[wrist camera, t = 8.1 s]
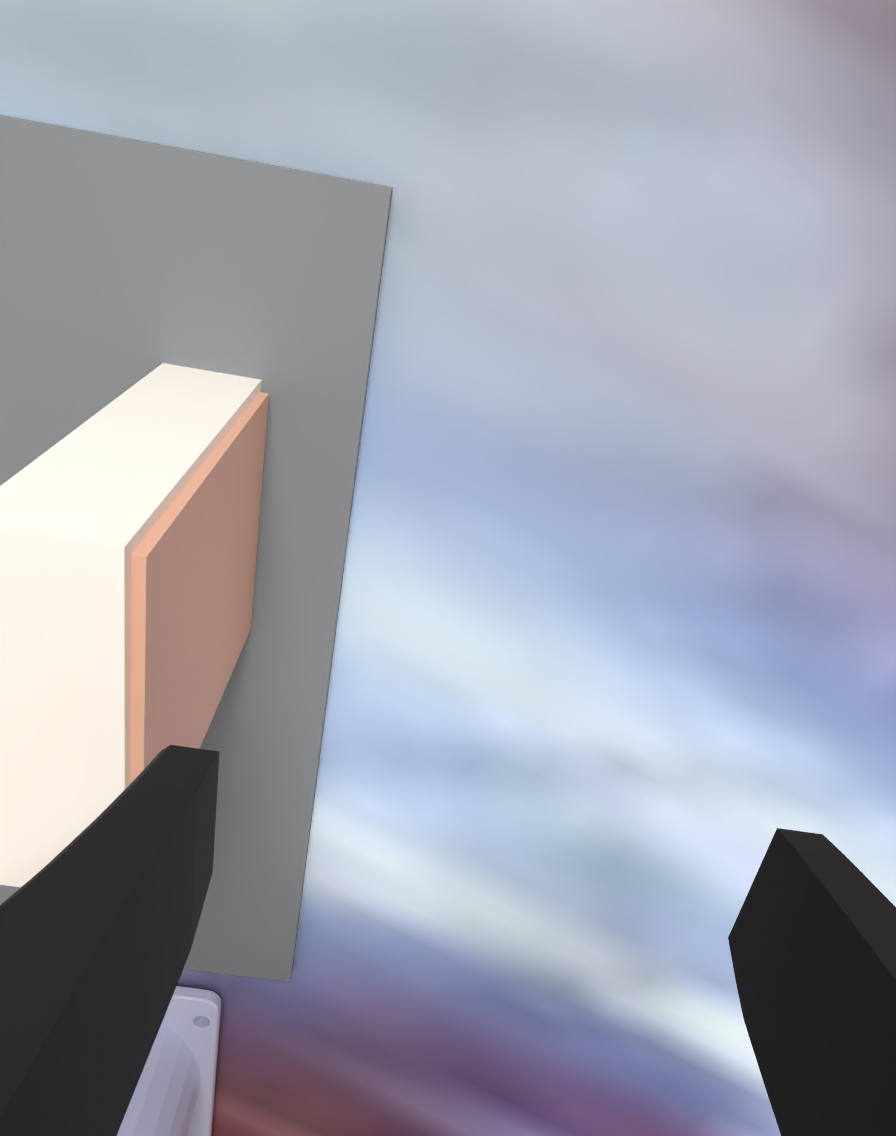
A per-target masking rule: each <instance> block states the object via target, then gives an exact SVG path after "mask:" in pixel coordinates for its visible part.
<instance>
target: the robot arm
mask: <svg viewBox="0 0 896 1136" xmlns="http://www.w3.org/2000/svg"><path fill="white" fill-rule="evenodd" d="M219 753H220V751H213V750H205V749H198V748H191V747H184V746H176V745H169V746H168V747H166V748H165V749H163V750H162V751H160V753H159V754H158V755H157V756H156V757H155V758H154V759H153V760H152V761H151V762H150V764H149V765H148V766H147V767H146V768H145V769H144V770H143V771H142V772H141V773H140V774H139V775H138V776H137V777H136V779H135V780H134V781H133V782H132V783H131V784H130V785H129V786H128V787H127V788H126V789H125V790H124V791H123V792H122V793H121V794H120V795H119V796H118V797H117V798H116V799H115V800H114V801H113V802H112V803H111V804H110V805H109V806H108V807H107V808H106V809H105V810H104V811H103V812H102V813H101V814H100V815H99V816H98V817H97V818H96V819H95V820H94V821H93V822H92V823H91V824H90V825H89V826H88V827H87V828H86V829H85V830H83V831H82V832H81V833H80V834H79V835H78V836H77V837H76V838H75V839H74V840H73V841H72V842H71V843H70V844H69V845H68V846H66V847H65V848H64V849H63V850H62V851H61V852H60V853H59V854H58V855H57V856H56V857H55V858H54V859H53V860H52V861H51V862H49V863H48V864H47V865H46V866H45V867H44V868H43V869H42V870H41V871H39V872H38V873H37V874H36V875H35V876H34V877H33V878H31V879H30V880H29V881H28V882H27V883H25V884H24V885H23V886H22V887H21V888H20V889H18V890H17V891H16V892H15V893H14V894H13V895H11V896H10V897H9V898H8V899H7V900H6V901H4V902H3V903H2V904H1V905H0V1136H211V1134H212V1121H213V1107H214V1094H215V1081H216V1068H217V1054H218V1041H219V1028H220V1015H221V999H220V997H219V996H218V995H217V994H216V993H214V992H213V991H210V990H206V989H198V988H190V987H182V986H177V984H178V981H179V979H180V976H181V974H182V971H183V968H184V966H185V963H186V961H187V958H188V956H189V953H190V951H191V947H192V944H193V940H194V937H195V933H196V930H197V926H198V923H199V919H200V916H201V912H202V909H203V905H204V901H205V898H206V894H207V890H208V887H209V883H210V880H211V876H212V872H213V859H214V841H215V823H216V806H217V788H218V770H219ZM728 939H729V945H730V950H731V956H732V962H733V967H734V973H735V979H736V984H737V989H738V994H739V998H740V1003H741V1008H742V1013H743V1017H744V1021H745V1024H746V1027H747V1031H748V1034H749V1037H750V1041H751V1044H752V1047H753V1050H754V1053H755V1056H756V1059H757V1062H758V1066H759V1069H760V1072H761V1075H762V1078H763V1081H764V1084H765V1087H766V1091H767V1094H768V1097H769V1100H770V1103H771V1106H772V1109H773V1112H774V1115H775V1118H776V1121H777V1124H778V1127H779V1130H780V1133H781V1136H896V907H895V906H894V905H893V904H892V903H891V902H890V901H889V900H888V899H887V898H886V897H885V896H884V895H883V894H882V893H881V892H880V891H879V890H878V889H877V888H876V887H875V886H874V885H873V884H872V883H871V882H870V881H869V880H868V878H867V877H866V876H865V875H864V874H863V873H862V872H861V871H860V870H859V869H858V868H857V867H856V866H855V865H854V864H853V863H852V862H851V861H850V860H849V859H848V858H847V857H846V856H845V855H844V854H843V853H842V852H841V851H840V850H839V849H838V848H836V847H835V846H834V845H833V844H832V843H831V842H830V841H829V840H828V839H827V838H826V837H825V836H824V835H822V834H815V833H808V832H800V831H793V830H786V829H779V828H777V830H776V832H775V834H774V837H773V839H772V841H771V843H770V846H769V848H768V850H767V852H766V855H765V857H764V859H763V861H762V863H761V866H760V868H759V870H758V872H757V875H756V877H755V879H754V881H753V884H752V886H751V888H750V890H749V893H748V895H747V897H746V899H745V901H744V904H743V906H742V908H741V910H740V913H739V915H738V917H737V919H736V922H735V924H734V926H733V928H732V931H731V933H730V935H729V937H728Z"/></svg>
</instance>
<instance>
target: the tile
mask: <svg viewBox="0 0 896 1136" xmlns="http://www.w3.org/2000/svg"><path fill="white" fill-rule="evenodd" d="M261 384H262V380H260V379H255V378H249V377H243V376H237V375H231V374H225V373H219V372H213V371H207V370H201V369H195V368H189V367H183V366H177V365H171V364H166V363H162V364H161V365H160V366H158V367H157V368H156V369H154V370H153V371H152V372H150V373H149V374H148V375H146V376H145V377H144V378H142V379H141V380H140V381H139V382H137V383H136V384H135V385H133V386H132V387H131V388H129V389H128V390H127V391H125V392H124V393H123V394H121V395H120V396H119V397H117V398H116V399H115V400H113V401H112V402H111V403H109V404H108V405H107V406H105V407H104V408H103V409H101V410H100V411H99V412H98V413H96V414H95V415H94V416H92V417H91V418H90V419H88V420H87V421H86V422H84V423H83V424H82V425H80V426H79V427H78V428H76V429H75V430H74V431H72V432H71V433H70V434H68V435H67V436H66V437H64V438H63V439H62V440H60V441H59V442H58V443H57V444H55V445H54V446H53V447H51V448H50V449H49V450H47V451H46V452H45V453H43V454H42V455H41V456H39V457H38V458H37V459H35V460H34V461H33V462H31V463H30V464H29V465H27V466H26V467H25V468H23V469H22V470H21V471H20V472H18V473H17V474H16V475H14V476H13V477H12V478H10V479H9V480H8V481H6V482H5V483H4V484H2V485H1V486H0V885H6V886H14V887H22V886H23V885H24V884H25V883H27V882H28V881H29V880H30V879H31V878H33V877H34V876H35V875H36V874H37V873H38V872H39V871H41V870H42V869H43V868H44V867H45V866H46V865H47V864H48V863H49V862H51V861H52V860H53V859H54V858H55V857H56V856H57V855H58V854H59V853H60V852H61V851H62V850H63V849H64V848H65V847H66V846H68V845H69V844H70V843H71V842H72V841H73V840H74V839H75V838H76V837H77V836H78V835H79V834H80V833H81V832H82V831H83V830H85V829H86V828H87V827H88V826H89V825H90V824H91V823H92V822H93V821H94V820H95V819H96V818H97V817H98V816H99V815H100V814H101V813H102V812H103V811H104V810H105V809H106V808H107V807H108V806H109V805H110V804H111V803H112V802H113V801H114V800H115V799H116V798H117V797H118V796H119V795H120V794H121V793H122V792H123V791H124V790H125V789H126V788H127V787H128V786H129V785H130V784H131V783H132V782H133V781H134V780H135V779H136V777H137V776H138V775H139V774H140V773H141V772H142V771H143V770H144V769H145V768H146V767H147V766H148V765H149V764H150V762H151V761H152V760H153V759H154V758H155V757H156V756H157V755H158V754H159V753H160V751H162V750H163V749H165V748H166V747H168V746H169V745H176V746H184V747H191V748H198V749H200V747H201V744H202V742H203V740H204V737H205V735H206V733H207V730H208V728H209V726H210V723H211V721H212V719H213V716H214V714H215V712H216V709H217V707H218V704H219V702H220V700H221V697H222V695H223V693H224V690H225V688H226V686H227V683H228V681H229V679H230V676H231V674H232V672H233V669H234V667H235V665H236V662H237V660H238V658H239V655H240V653H241V651H242V648H243V646H244V643H245V641H246V639H247V636H248V634H249V632H250V629H251V622H252V609H253V596H254V583H255V570H256V557H257V543H258V530H259V517H260V504H261V491H262V478H263V465H264V452H265V439H266V426H267V412H268V399H269V393H263V392H261Z"/></svg>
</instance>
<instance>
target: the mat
mask: <svg viewBox="0 0 896 1136" xmlns="http://www.w3.org/2000/svg"><path fill="white" fill-rule="evenodd" d="M392 188H393V187H388V186H382V185H377V184H371V183H366V182H361V181H355V180H350V179H344V178H339V177H334V176H328V175H323V174H317V173H312V172H306V171H301V170H296V169H290V168H285V167H279V166H274V165H269V164H263V163H258V162H252V161H247V160H242V159H236V158H231V157H225V156H220V155H214V154H209V153H204V152H198V151H193V150H187V149H182V148H177V147H171V146H166V145H160V144H155V143H149V142H144V141H139V140H133V139H128V138H122V137H117V136H112V135H106V134H101V133H95V132H90V131H85V130H79V129H74V128H68V127H63V126H57V125H52V124H47V123H41V122H36V121H30V120H25V119H20V118H14V117H9V116H3V115H0V486H1V485H2V484H4V483H5V482H6V481H8V480H9V479H10V478H12V477H13V476H14V475H16V474H17V473H18V472H20V471H21V470H22V469H23V468H25V467H26V466H27V465H29V464H30V463H31V462H33V461H34V460H35V459H37V458H38V457H39V456H41V455H42V454H43V453H45V452H46V451H47V450H49V449H50V448H51V447H53V446H54V445H55V444H57V443H58V442H59V441H60V440H62V439H63V438H64V437H66V436H67V435H68V434H70V433H71V432H72V431H74V430H75V429H76V428H78V427H79V426H80V425H82V424H83V423H84V422H86V421H87V420H88V419H90V418H91V417H92V416H94V415H95V414H96V413H98V412H99V411H100V410H101V409H103V408H104V407H105V406H107V405H108V404H109V403H111V402H112V401H113V400H115V399H116V398H117V397H119V396H120V395H121V394H123V393H124V392H125V391H127V390H128V389H129V388H131V387H132V386H133V385H135V384H136V383H137V382H139V381H140V380H141V379H142V378H144V377H145V376H146V375H148V374H149V373H150V372H152V371H153V370H154V369H156V368H157V367H158V366H160V365H161V364H162V363H166V364H171V365H177V366H183V367H189V368H195V369H201V370H207V371H213V372H219V373H225V374H231V375H237V376H243V377H249V378H255V379H260V380H262V384H261V392H263V393H269V399H268V412H267V426H266V439H265V452H264V465H263V478H262V491H261V504H260V517H259V530H258V543H257V557H256V570H255V583H254V596H253V609H252V622H251V629H250V632H249V634H248V636H247V639H246V641H245V643H244V646H243V648H242V651H241V653H240V655H239V658H238V660H237V662H236V665H235V667H234V669H233V672H232V674H231V676H230V679H229V681H228V683H227V686H226V688H225V690H224V693H223V695H222V697H221V700H220V702H219V704H218V707H217V709H216V712H215V714H214V716H213V719H212V721H211V723H210V726H209V728H208V730H207V733H206V735H205V737H204V740H203V742H202V744H201V747H200V749H205V750H213V751H220V753H219V770H218V788H217V806H216V823H215V841H214V859H213V872H212V876H211V880H210V883H209V887H208V890H207V894H206V898H205V901H204V905H203V909H202V912H201V916H200V919H199V923H198V926H197V930H196V933H195V937H194V940H193V944H192V947H191V951H190V953H189V956H188V958H187V961H186V963H185V966H184V968H183V969H186V970H194V971H202V972H210V973H218V974H226V975H234V976H242V977H250V978H258V979H266V980H274V981H282V982H290V979H291V974H292V968H293V961H294V953H295V945H296V937H297V929H298V922H299V914H300V906H301V898H302V890H303V883H304V875H305V867H306V859H307V851H308V844H309V836H310V828H311V820H312V812H313V805H314V797H315V789H316V781H317V773H318V766H319V758H320V750H321V742H322V734H323V727H324V719H325V711H326V703H327V695H328V688H329V680H330V672H331V664H332V656H333V649H334V641H335V633H336V625H337V617H338V610H339V602H340V594H341V586H342V578H343V571H344V563H345V555H346V547H347V539H348V532H349V524H350V516H351V508H352V500H353V493H354V485H355V477H356V469H357V461H358V454H359V446H360V438H361V430H362V422H363V415H364V407H365V399H366V391H367V383H368V376H369V368H370V360H371V352H372V344H373V337H374V329H375V321H376V313H377V305H378V298H379V290H380V282H381V274H382V266H383V259H384V251H385V243H386V235H387V227H388V220H389V212H390V204H391V196H392ZM20 888H21V887H14V886H6V885H0V905H1V904H2V903H3V902H4V901H6V900H7V899H8V898H9V897H10V896H11V895H13V894H14V893H15V892H16V891H17V890H18V889H20Z"/></svg>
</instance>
